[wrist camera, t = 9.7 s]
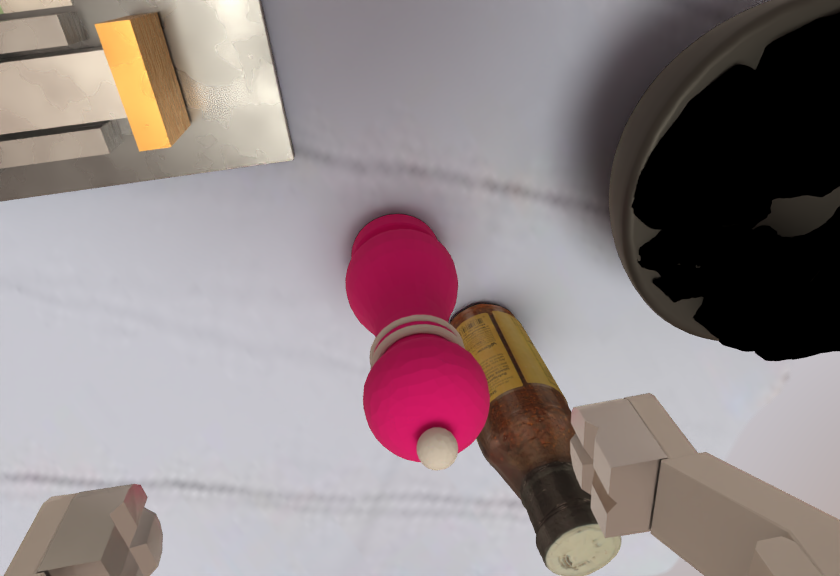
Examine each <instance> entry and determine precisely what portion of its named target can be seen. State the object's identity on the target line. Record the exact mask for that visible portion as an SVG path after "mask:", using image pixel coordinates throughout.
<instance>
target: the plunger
mask: <svg viewBox="0 0 840 576" xmlns="http://www.w3.org/2000/svg"><path fill="white" fill-rule="evenodd" d="M94 25H95V27H96V30H97V33H98V36H99V39H100V41H101V44H102V46H101V47H93V48H86V49H78V50H70V51H62V52H54V53H46V54H38V55H30V56H22V57H14V58H6V59H0V135H1V134H9V133H16V132H23V131H31V130H38V129H46V128H53V127H61V126H68V125H76V124H83V123H90V122H98V121H105V120H113V119H120V118H128V121H129V123H130V126H131V129H132V132H133V135H134V138H135V140H136V143H137V146H138V149H139V152H140V151H147V150H154V149H161V148H169V147H172V145H173V144H174V143H175V142H176V141H177V140H178V139H179V138H180V136H181V135H182V134H183V133H184V132H185V131H186V130H187V129H188V127H189V126H190V125H191V123H190V120H189V117H188V113H187V110H186V107H185V103H184V100H183V97H182V93H181V90H180V87H179V84H178V80H177V77H176V74H175V70H174V67H173V64H172V60H171V57H170V54H169V50H168V47H167V44H166V40H165V37H164V34H163V30H162V27H161V24H160V20H159V17H158V14H157V12H155V13H147V14H139V15H131V16H125V17H121V18H117V19H113V20H109V21H105V22H101V23H97V24H94Z"/></svg>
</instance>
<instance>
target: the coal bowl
mask: <svg viewBox="0 0 840 576" xmlns="http://www.w3.org/2000/svg"><path fill="white" fill-rule="evenodd" d="M609 214H610V222H611V229H612V234H613V238H614V242H615V246H616V249H617V252H618V255H619V258H620V260H621V263H622V265H623V267H624V269H625V271H626V273H627V275H628V277H629V279H630V281H631V282H632V284H633V286H634V287H635V289H636V290H637V292H638V293H639V294H640V296H641V297H642V298H643V300H644V301H645V302H646V304H647V305H648V306H649V307H650V308H651V309H652V310H653V311H654V312H655V313H656V314H657V315H659V316H660V317H661V318H662V319H664V320H665V321H667V322H668V323H670V324H671V325H673V326H675V327H677V328H679V329H681V330H683V331H685V332H687V333H689V334H692V335H695V336H699V337H702V338H706V339H711V340H716V341H719V342H720V343H721V344H722V345H725V346H728V347H731V348H735V349H738V350H741V351H746V352H747V351H748V352H749V351H755V353H756V354H757V355H758V356H760V357H762V358H763V359H764V360H766V361H781V360H786V359H792V360H793V359H799V358H805V357H809V356H813V355H816V354H819V353H826V352H832V351H840V0H770V1H767V2H764V3H762V4H759V5H757V6H755V7H753V8H750V9H748V10H746V11H744V12H742V13H740V14H738V15H736V16H734V17H732V18H730V19H729V20H727V21H725V22H723V23H721V24H720V25H718V26H716V27H715V28H713V29H712V30H710V31H709V32H707V33H706V34H704V35H703V36H701V37H700V38H699V39H698V40H696V41H695V42H694V43H692V44H691V45H690V46H689V47H687V48H686V49H685V50H684V51H682V52H681V53H680V54H679V55H678V56H677V57H676V58H675V59H674V60H673V61H672V62H671V63H669V64H668V66H667V67H666V68H665V69H664V70H663V71H662V72H661V73H660V74H659V75H658V76H657V78H656V79H655V80H654V81H653V83H652V84H651V85H650V86H649V88H648V89H647V90H646V92H645V93H644V95H643V96H642V98H641V99H640V101H639V102H638V104H637V105H636V107H635V109H634V111H633V112H632V114H631V116H630V118H629V120H628V122H627V124H626V126H625V128H624V130H623V133H622V135H621V138H620V141H619V143H618V146H617V149H616V153H615V157H614V160H613V165H612V170H611V176H610V186H609Z"/></svg>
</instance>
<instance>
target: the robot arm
mask: <svg viewBox="0 0 840 576" xmlns="http://www.w3.org/2000/svg"><path fill="white" fill-rule="evenodd" d="M571 424H572V426H573V428H574V430H575V432H576V434H575V435H574V436H573V437H572V438H571V440H570V454H571V460H572V465H573V469H574V472H575V475H576V478H577V480H578V482H579V485H580V487H581V489H582V490H584V491H585V492H587V493H589V494H590V495H591V510H592V512H593V514H594V516H595V518H596V520H597V522H598V525H599V527H600V529H601V531H602V533H603V535H604V537H605V538H610V537H617V536H623V535H629V534H635V533H642V532H648V531H651V534H652V535H653V536H654V537H656V538H657V539H658V540H660V541H661V542H662V543H663V544H665V545H666V546H667V547H668V548H670V549H671V550H672V551H674V552H675V553H676V554H677V555H679V556H680V557H681V558H682V559H684V560H685V561H686V562H688V563H689V564H690V565H692V566H693V567H694V568H695V569H696V570H698V571H699V572H700V573H702V574H703V575H704V576H840V520H839V519H837V518H835V517H833V516H831V515H829V514H827V513H825V512H823V511H821V510H819V509H817V508H815V507H813V506H811V505H809V504H807V503H805V502H804V501H802V500H799V499H797V498H796V497H794V496H792V495H790V494H788V493H786V492H784V491H782V490H780V489H778V488H776V487H774V486H772V485H770V484H768V483H766V482H764V481H762V480H760V479H758V478H756V477H754V476H752V475H750V474H748V473H746V472H744V471H742V470H740V469H738V468H736V467H734V466H732V465H730V464H728V463H726V462H724V461H723V460H721V459H719V458H717V457H715V456H713V455H711V454H709V453H707V452H703V453H698V452H697V451H696V450H695V449H694V447H693V446H692V445H691V443H690V442H689V441H688V439H687V438H686V437H685V435H684V434H683V433H682V431H681V430H680V429H679V427H678V426H677V425H676V424H675V422H674V421H673V420H672V418H671V417H670V416H669V414H668V413H667V412H666V410H665V409H664V408H663V406H662V405H661V404H660V402H659V401H658V400H657V399H656V397H655V396H654V395H652V394H650V393H647V394H641V395H636V396H631V397H625V398H624V399H622V398H621V399H615V400H610V401H604V402H599V403H594V404H588V405H583V406H577V407H573V410H572V412H571ZM146 500H147V495H146V494H145V492H144V490H143V488H142V487H141V485H137V484H131V485H124V486H117V487H111V488H104V489H97V490H91V491H84V492H79V493H75V494H68V495H61V496H54V497H51V498H49V499H48V500H47V501H46V502H44V503H43V505H42V506H41V508H40V510H39V512H38V514H37V516H36V517H35V519H34V521H33V523H32V525H31V527H30V529H29V530H28V532H27V534H26V536H25V538H24V540H23V541H22V543H21V545H20V547H19V549H18V551H17V552H16V554H15V556H14V558H13V560H12V562H11V563H10V565H9V567H8V569H7V571H6V573H5V575H4V576H150V575H151V574H152V573H153V571H154V570H155V569H156V568H157V567H158V565H159V561H160V558H161V554H162V542H163V534H162V529H161V524H160V521H159V519H158V517H157V515H156V514H155V513H154V512H152V511H150V510H148V509H146V508H144V506H145V503H146Z"/></svg>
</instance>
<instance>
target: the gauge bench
mask: <svg viewBox="0 0 840 576" xmlns="http://www.w3.org/2000/svg"><path fill="white" fill-rule="evenodd" d="M155 12H157V14H158V17H159V20H160V24H161V27H162V30H163V34H164V37H165V40H166V44H167V47H168V50H169V54H170V57H171V60H172V64H173V67H174V70H175V74H176V77H177V80H178V84H179V87H180V90H181V93H182V97H183V100H184V103H185V107H186V110H187V113H188V117H189V120H190V123H191V125H190V126H189V127H188V129H187V130H186V131H185V132H184V133H183V134H182V135H181V136H180V138H179V139H178V140H177V141H176V142H175V143H174V144H173V145H172V147H169V148H161V149H154V150H147V151H140V152H139V149H138V146H137V143H136V140H135V138H134V135H133V132H132V129H131V126H130V123H129V121H128V118H120V119H113V120H105V121H98V122H90V123H83V124H76V125H68V126H61V127H53V128H46V129H38V130H31V131H23V132H16V133H9V134H1V135H0V201H7V200H14V199H21V198H28V197H35V196H42V195H49V194H56V193H63V192H70V191H77V190H84V189H92V188H99V187H106V186H113V185H120V184H127V183H134V182H141V181H148V180H155V179H162V178H170V177H177V176H184V175H191V174H198V173H205V172H212V171H219V170H226V169H233V168H240V167H248V166H255V165H262V164H269V163H276V162H283V161H290V160H294V151H293V146H292V142H291V137H290V132H289V128H288V123H287V119H286V114H285V109H284V105H283V100H282V96H281V91H280V86H279V82H278V77H277V73H276V68H275V64H274V59H273V54H272V50H271V45H270V41H269V36H268V31H267V27H266V22H265V18H264V13H263V8H262V4H261V0H0V59H6V58H14V57H22V56H30V55H38V54H46V53H54V52H62V51H70V50H78V49H86V48H93V47H101V46H102V44H101V41H100V39H99V36H98V33H97V30H96V27H95V25H94V24H97V23H101V22H105V21H109V20H113V19H117V18H121V17H125V16H131V15H139V14H147V13H155Z"/></svg>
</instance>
